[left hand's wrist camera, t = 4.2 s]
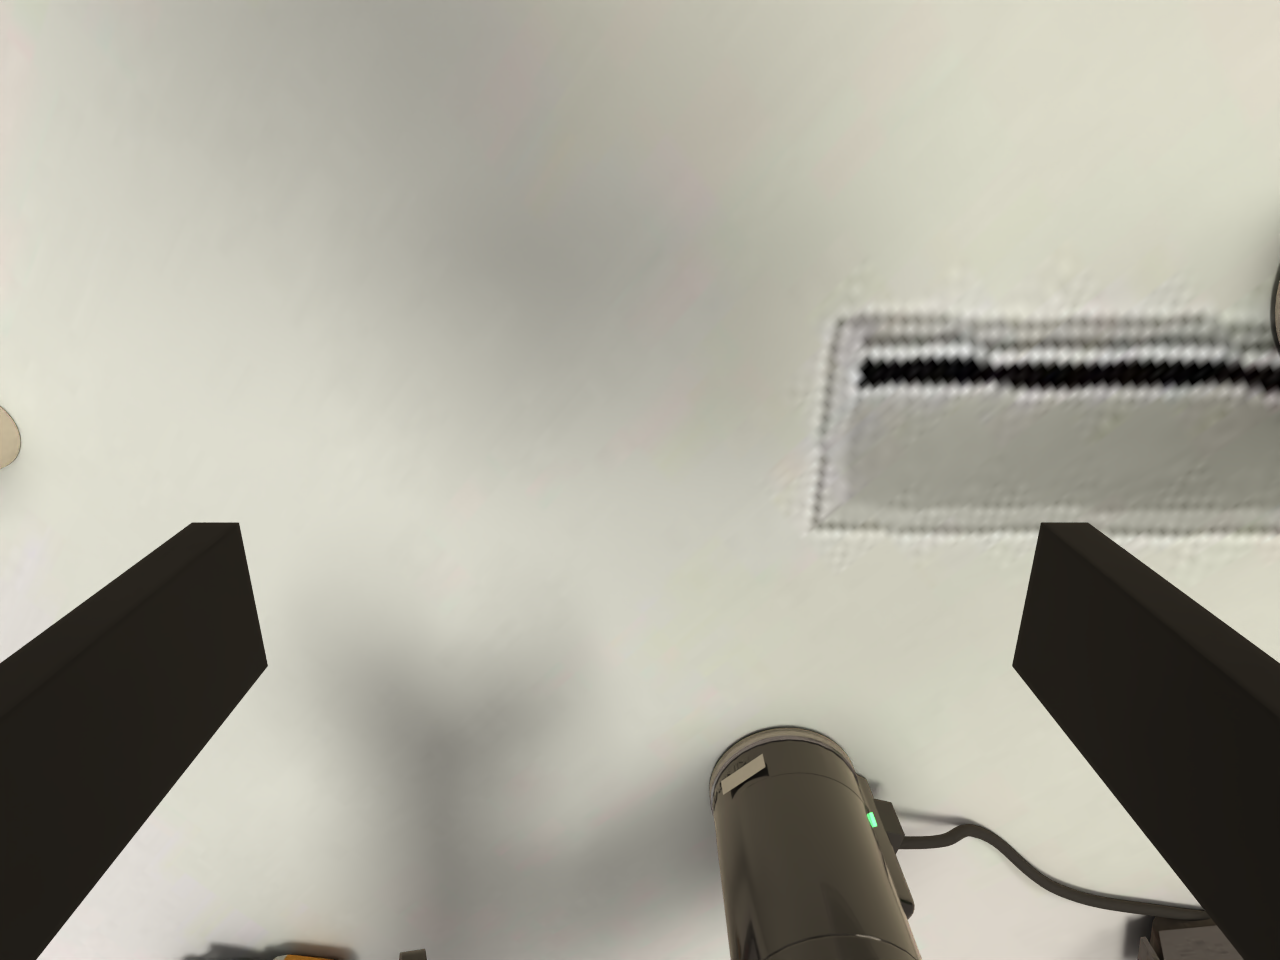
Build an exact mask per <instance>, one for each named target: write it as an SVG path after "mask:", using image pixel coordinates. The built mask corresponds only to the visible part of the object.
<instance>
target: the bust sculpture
mask: <svg viewBox="0 0 1280 960" xmlns="http://www.w3.org/2000/svg"><path fill="white" fill-rule="evenodd" d="M1275 322H1276V331H1277V336H1278V340H1279V343H1280V281H1279V285H1278V290H1277V296H1276V305H1275Z"/></svg>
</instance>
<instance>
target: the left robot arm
mask: <svg viewBox="0 0 1280 960" xmlns="http://www.w3.org/2000/svg"><path fill="white" fill-rule="evenodd" d="M267 666H268V664H267V660H266V655H265V650H264V645H263V640H262V635H261V630H260V625H259V620H258V615H257V610H256V605H255V600H254V595H253V590H252V585H251V580H250V575H249V570H248V565H247V560H246V555H245V550H244V545H243V540H242V536H241V531H240V526H239V523H191V524H190V525H188V526H187V527H185V528H184V529H183V530H181V531H180V532H179V533H177V534H176V535H175V536H173V537H172V538H170V539H169V540H168V541H166V542H165V543H164V544H162V545H161V546H160V547H158V548H157V549H155V550H154V551H153V552H151V553H150V554H149V555H147V556H146V557H145V558H143V559H142V560H140V561H139V562H138V563H136V564H135V565H134V566H132V567H131V568H130V569H128V570H127V571H126V572H124V573H123V574H121V575H120V576H119V577H117V578H116V579H115V580H113V581H112V582H111V583H109V584H108V585H106V586H105V587H104V588H102V589H101V590H100V591H98V592H97V593H96V594H94V595H93V596H91V597H90V598H89V599H87V600H86V601H85V602H83V603H82V604H81V605H79V606H78V607H76V608H75V609H74V610H72V611H71V612H70V613H68V614H67V615H66V616H64V617H63V618H61V619H60V620H59V621H57V622H56V623H55V624H53V625H52V626H51V627H49V628H48V629H46V630H45V631H44V632H42V633H41V634H40V635H38V636H37V637H36V638H34V639H33V640H31V641H30V642H29V643H27V644H26V645H25V646H23V647H22V648H21V649H19V650H18V651H16V652H15V653H14V654H12V655H11V656H10V657H8V658H7V659H6V660H4V661H3V662H1V663H0V960H36V959H37V958H38V957H39V955H40V954H41V953H42V952H43V950H44V949H45V948H46V947H47V945H48V944H49V943H50V942H51V940H52V939H53V938H54V936H55V935H56V934H57V933H58V931H59V930H60V929H61V928H62V926H63V925H64V924H65V922H66V921H67V920H68V919H69V917H70V916H71V915H72V914H73V912H74V911H75V910H76V909H77V907H78V906H79V905H80V903H81V902H82V901H83V900H84V898H85V897H86V896H87V895H88V893H89V892H90V891H91V890H92V888H93V887H94V886H95V884H96V883H97V882H98V881H99V879H100V878H101V877H102V876H103V874H104V873H105V872H106V871H107V869H108V868H109V867H110V865H111V864H112V863H113V862H114V860H115V859H116V858H117V857H118V855H119V854H120V853H121V851H122V850H123V849H124V848H125V846H126V845H127V844H128V843H129V841H130V840H131V839H132V838H133V836H134V835H135V834H136V832H137V831H138V830H139V829H140V827H141V826H142V825H143V824H144V822H145V821H146V820H147V819H148V817H149V816H150V815H151V813H152V812H153V811H154V810H155V808H156V807H157V806H158V805H159V803H160V802H161V801H162V799H163V798H164V797H165V796H166V794H167V793H168V792H169V791H170V789H171V788H172V787H173V786H174V784H175V783H176V782H177V780H178V779H179V778H180V777H181V775H182V774H183V773H184V772H185V770H186V769H187V768H188V767H189V765H190V764H191V763H192V761H193V760H194V759H195V758H196V756H197V755H198V754H199V753H200V751H201V750H202V749H203V748H204V746H205V745H206V744H207V742H208V741H209V740H210V739H211V737H212V736H213V735H214V734H215V732H216V731H217V730H218V728H219V727H220V726H221V725H222V723H223V722H224V721H225V720H226V718H227V717H228V716H229V715H230V713H231V712H232V711H233V709H234V708H235V707H236V706H237V704H238V703H239V702H240V701H241V699H242V698H243V697H244V696H245V694H246V693H247V692H248V690H249V689H250V688H251V687H252V685H253V684H254V683H255V682H256V680H257V679H258V678H259V676H260V675H261V674H262V673H263V671H264V670H265V669H266V668H267ZM1012 666H1013V668H1014V669H1015V670H1016V671H1017V673H1018V674H1019V675H1020V677H1021V678H1022V679H1023V680H1024V682H1025V683H1026V684H1027V685H1028V687H1029V688H1030V689H1031V690H1032V692H1033V693H1034V694H1035V696H1036V697H1037V698H1038V699H1039V701H1040V702H1041V703H1042V704H1043V706H1044V707H1045V708H1046V709H1047V711H1048V712H1049V713H1050V715H1051V716H1052V717H1053V718H1054V720H1055V721H1056V722H1057V723H1058V725H1059V726H1060V727H1061V728H1062V730H1063V731H1064V732H1065V734H1066V735H1067V736H1068V737H1069V739H1070V740H1071V741H1072V742H1073V744H1074V745H1075V746H1076V748H1077V749H1078V750H1079V751H1080V753H1081V754H1082V755H1083V756H1084V758H1085V759H1086V760H1087V761H1088V763H1089V764H1090V765H1091V767H1092V768H1093V769H1094V770H1095V772H1096V773H1097V774H1098V775H1099V777H1100V778H1101V779H1102V780H1103V782H1104V783H1105V784H1106V786H1107V787H1108V788H1109V789H1110V791H1111V792H1112V793H1113V794H1114V796H1115V797H1116V798H1117V799H1118V801H1119V802H1120V803H1121V805H1122V806H1123V807H1124V808H1125V810H1126V811H1127V812H1128V813H1129V815H1130V816H1131V817H1132V819H1133V820H1134V821H1135V822H1136V824H1137V825H1138V826H1139V827H1140V829H1141V830H1142V831H1143V832H1144V834H1145V835H1146V836H1147V838H1148V839H1149V840H1150V841H1151V843H1152V844H1153V845H1154V846H1155V848H1156V849H1157V850H1158V851H1159V853H1160V854H1161V855H1162V857H1163V858H1164V859H1165V860H1166V862H1167V863H1168V864H1169V865H1170V867H1171V868H1172V869H1173V871H1174V872H1175V873H1176V874H1177V876H1178V877H1179V878H1180V879H1181V881H1182V882H1183V883H1184V884H1185V886H1186V887H1187V888H1188V890H1189V891H1190V892H1191V893H1192V895H1193V896H1194V897H1195V898H1196V900H1197V901H1198V902H1199V903H1200V905H1201V906H1202V907H1203V909H1204V910H1205V911H1206V912H1207V914H1208V915H1209V916H1210V917H1211V919H1212V920H1213V921H1214V922H1215V924H1216V925H1217V926H1218V928H1219V929H1220V930H1221V931H1222V933H1223V934H1224V935H1225V936H1226V938H1227V939H1228V940H1229V942H1230V943H1231V944H1232V945H1233V947H1234V948H1235V949H1236V950H1237V952H1238V953H1239V954H1240V955H1241V957H1242V958H1243V959H1244V960H1280V663H1279V662H1277V661H1276V660H1274V659H1273V658H1272V657H1270V656H1269V655H1268V654H1266V653H1265V652H1264V651H1262V650H1261V649H1259V648H1258V647H1257V646H1255V645H1254V644H1253V643H1251V642H1250V641H1249V640H1247V639H1246V638H1244V637H1243V636H1242V635H1240V634H1239V633H1238V632H1236V631H1235V630H1234V629H1232V628H1231V627H1229V626H1228V625H1227V624H1225V623H1224V622H1223V621H1221V620H1220V619H1219V618H1217V617H1216V616H1214V615H1213V614H1212V613H1210V612H1209V611H1208V610H1206V609H1205V608H1204V607H1202V606H1201V605H1199V604H1198V603H1197V602H1195V601H1194V600H1193V599H1191V598H1190V597H1189V596H1187V595H1186V594H1184V593H1183V592H1182V591H1180V590H1179V589H1178V588H1176V587H1175V586H1174V585H1172V584H1171V583H1169V582H1168V581H1167V580H1165V579H1164V578H1163V577H1161V576H1160V575H1159V574H1157V573H1156V572H1154V571H1153V570H1152V569H1150V568H1149V567H1148V566H1146V565H1145V564H1144V563H1142V562H1141V561H1140V560H1138V559H1137V558H1135V557H1134V556H1133V555H1131V554H1130V553H1129V552H1127V551H1126V550H1125V549H1123V548H1122V547H1120V546H1119V545H1118V544H1116V543H1115V542H1114V541H1112V540H1111V539H1110V538H1108V537H1107V536H1105V535H1104V534H1103V533H1101V532H1100V531H1099V530H1097V529H1096V528H1095V527H1093V526H1092V525H1090V524H1089V523H1041V526H1040V531H1039V536H1038V540H1037V545H1036V550H1035V555H1034V560H1033V565H1032V570H1031V575H1030V580H1029V585H1028V590H1027V595H1026V600H1025V605H1024V610H1023V615H1022V620H1021V625H1020V630H1019V635H1018V640H1017V645H1016V650H1015V655H1014V660H1013V664H1012Z"/></svg>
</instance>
